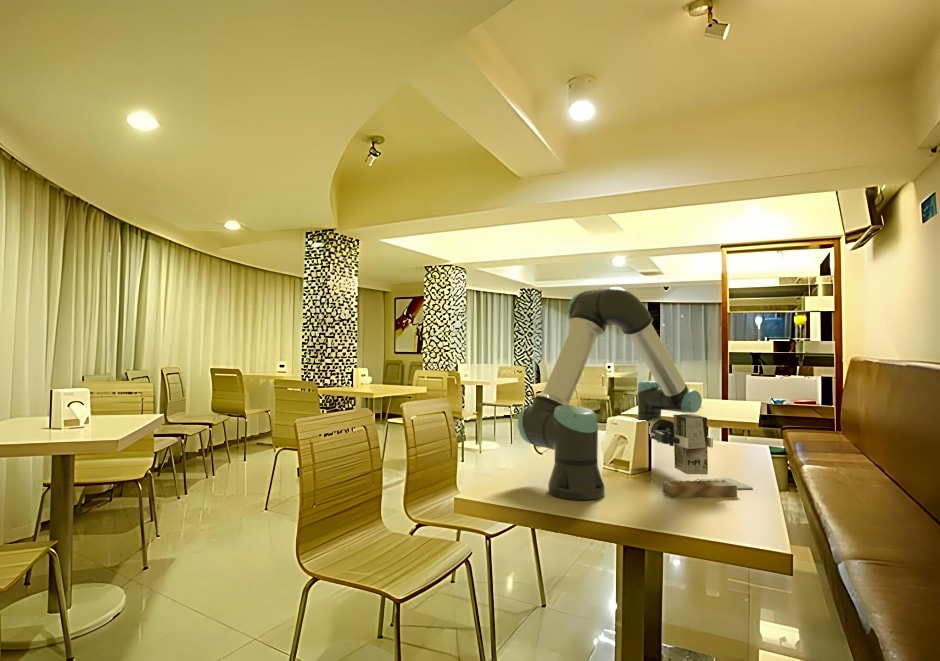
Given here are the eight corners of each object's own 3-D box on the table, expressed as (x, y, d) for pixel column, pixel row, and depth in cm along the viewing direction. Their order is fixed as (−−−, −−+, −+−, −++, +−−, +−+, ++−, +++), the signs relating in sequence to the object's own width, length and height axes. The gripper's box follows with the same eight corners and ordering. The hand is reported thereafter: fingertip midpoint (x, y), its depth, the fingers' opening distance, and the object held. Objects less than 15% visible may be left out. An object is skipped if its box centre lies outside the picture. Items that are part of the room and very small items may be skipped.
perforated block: (672, 498, 137) (672, 485, 138) (662, 492, 143) (662, 480, 143) (737, 496, 139) (736, 484, 139) (725, 491, 144) (725, 479, 144)
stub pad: (717, 490, 146) (717, 488, 146) (697, 480, 157) (697, 478, 157) (752, 489, 147) (752, 487, 147) (730, 479, 158) (730, 478, 158)
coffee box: (709, 474, 146) (708, 417, 147) (686, 474, 146) (685, 417, 147) (695, 467, 156) (694, 413, 156) (673, 467, 156) (672, 413, 156)
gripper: (691, 441, 170) (732, 455, 147) (633, 442, 168) (665, 456, 145) (691, 418, 170) (732, 429, 147) (633, 419, 169) (665, 430, 146)
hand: (699, 442), depth 146 cm, fingers closed on coffee box, 7 cm apart
